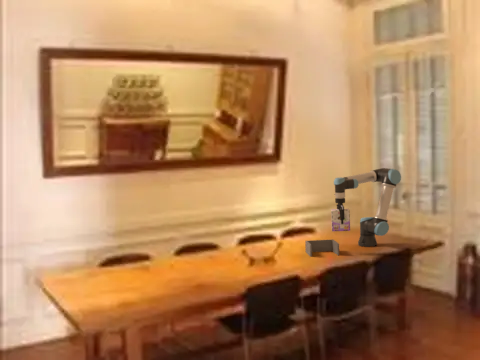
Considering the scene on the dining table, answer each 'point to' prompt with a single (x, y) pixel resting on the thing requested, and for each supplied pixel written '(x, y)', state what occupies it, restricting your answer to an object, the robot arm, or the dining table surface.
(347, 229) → the candy box
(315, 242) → the open box
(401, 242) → the dining table surface
